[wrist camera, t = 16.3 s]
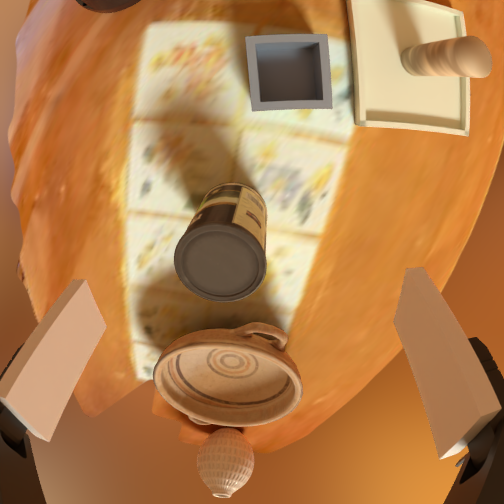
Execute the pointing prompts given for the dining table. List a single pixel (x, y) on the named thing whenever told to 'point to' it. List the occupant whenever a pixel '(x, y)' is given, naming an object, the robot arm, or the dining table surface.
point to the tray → (394, 75)
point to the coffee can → (224, 245)
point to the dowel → (449, 58)
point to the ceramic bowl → (230, 376)
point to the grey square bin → (289, 71)
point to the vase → (225, 461)
